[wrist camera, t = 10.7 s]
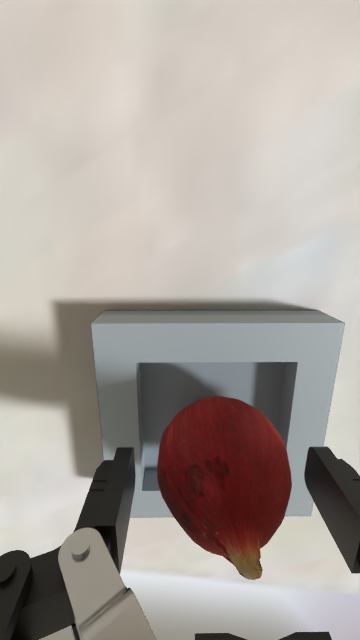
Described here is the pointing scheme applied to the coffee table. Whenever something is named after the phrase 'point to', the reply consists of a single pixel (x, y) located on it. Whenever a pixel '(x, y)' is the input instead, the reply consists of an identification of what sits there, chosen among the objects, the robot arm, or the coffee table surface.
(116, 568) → the robot arm
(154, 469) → the base plate
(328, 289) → the coffee table surface
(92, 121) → the coffee table surface
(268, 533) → the onion
